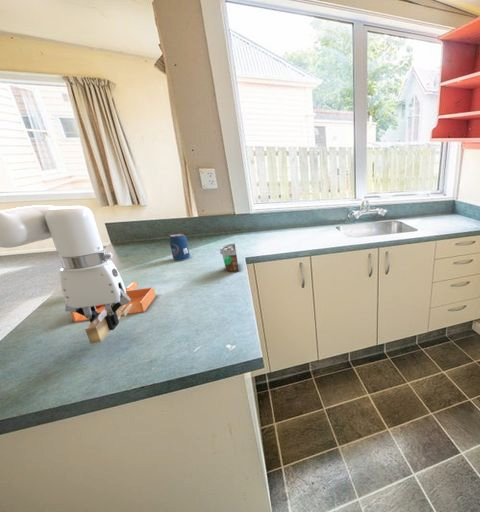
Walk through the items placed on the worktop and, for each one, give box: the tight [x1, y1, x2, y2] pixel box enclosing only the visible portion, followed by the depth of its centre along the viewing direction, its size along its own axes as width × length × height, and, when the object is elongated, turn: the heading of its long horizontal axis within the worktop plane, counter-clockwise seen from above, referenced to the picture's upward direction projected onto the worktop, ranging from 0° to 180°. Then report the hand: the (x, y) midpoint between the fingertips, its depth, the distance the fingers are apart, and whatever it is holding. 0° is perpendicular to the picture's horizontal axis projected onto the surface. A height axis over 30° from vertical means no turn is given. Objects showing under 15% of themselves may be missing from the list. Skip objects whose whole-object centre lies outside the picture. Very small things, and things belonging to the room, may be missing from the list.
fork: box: [84, 304, 132, 345], centre depth 77 cm, size 4×18×4 cm, turn 22°
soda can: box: [168, 233, 191, 262], centre depth 142 cm, size 7×7×12 cm
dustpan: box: [70, 281, 156, 323], centre depth 100 cm, size 22×17×3 cm
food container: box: [219, 243, 240, 273], centre depth 129 cm, size 12×6×10 cm, turn 27°
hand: (107, 328), depth 75 cm, fingers closed on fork, 2 cm apart
